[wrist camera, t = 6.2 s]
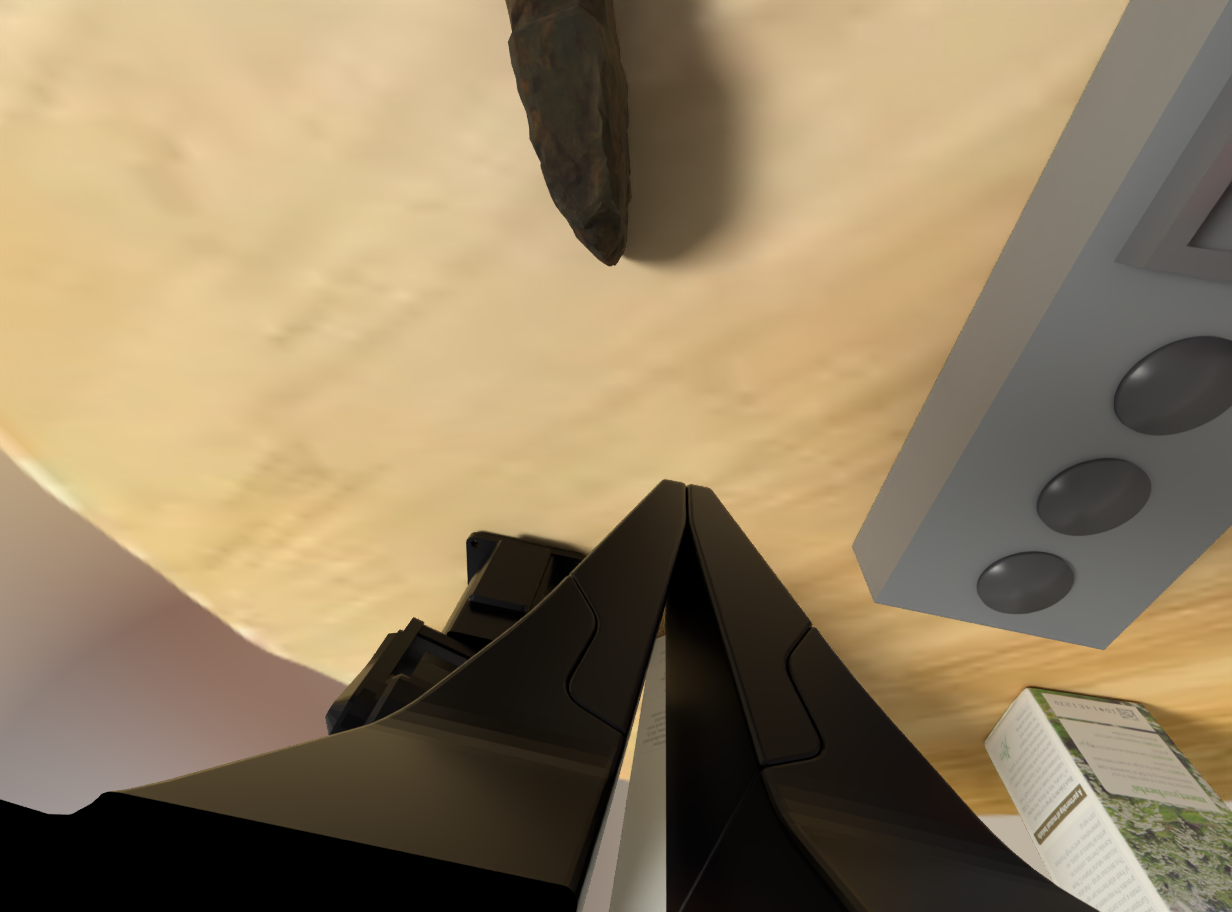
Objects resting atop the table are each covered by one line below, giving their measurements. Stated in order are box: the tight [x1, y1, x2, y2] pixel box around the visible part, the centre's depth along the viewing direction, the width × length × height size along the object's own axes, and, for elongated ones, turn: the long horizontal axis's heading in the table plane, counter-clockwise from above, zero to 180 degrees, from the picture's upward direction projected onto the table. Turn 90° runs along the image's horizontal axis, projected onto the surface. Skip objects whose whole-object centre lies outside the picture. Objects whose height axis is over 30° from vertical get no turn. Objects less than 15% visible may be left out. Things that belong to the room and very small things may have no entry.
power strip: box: [852, 0, 1232, 650], centre depth 15 cm, size 22×9×4 cm, turn 172°
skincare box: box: [609, 635, 666, 912], centre depth 22 cm, size 8×6×15 cm
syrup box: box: [984, 688, 1232, 912], centre depth 20 cm, size 6×6×14 cm
